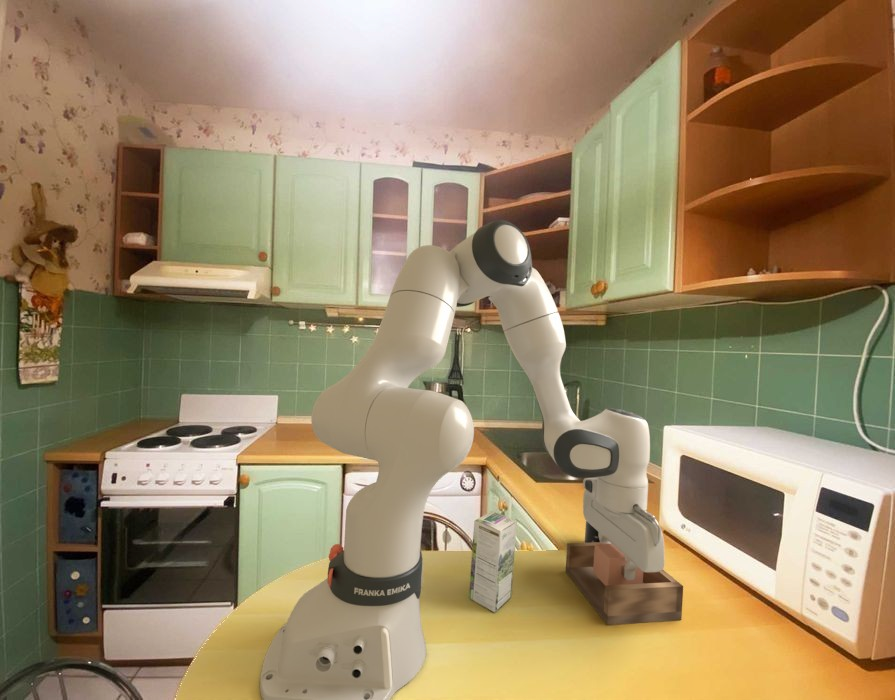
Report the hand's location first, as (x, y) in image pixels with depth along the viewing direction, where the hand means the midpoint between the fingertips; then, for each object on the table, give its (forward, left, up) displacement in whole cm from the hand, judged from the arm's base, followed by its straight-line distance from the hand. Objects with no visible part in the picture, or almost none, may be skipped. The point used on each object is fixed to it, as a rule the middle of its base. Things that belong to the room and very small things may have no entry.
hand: (616, 567), depth 71 cm
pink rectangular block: (0, 0, -2) cm, 2 cm away
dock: (+1, 0, -5) cm, 5 cm away
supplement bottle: (+6, +15, -5) cm, 16 cm away
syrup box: (-24, +1, -5) cm, 25 cm away
